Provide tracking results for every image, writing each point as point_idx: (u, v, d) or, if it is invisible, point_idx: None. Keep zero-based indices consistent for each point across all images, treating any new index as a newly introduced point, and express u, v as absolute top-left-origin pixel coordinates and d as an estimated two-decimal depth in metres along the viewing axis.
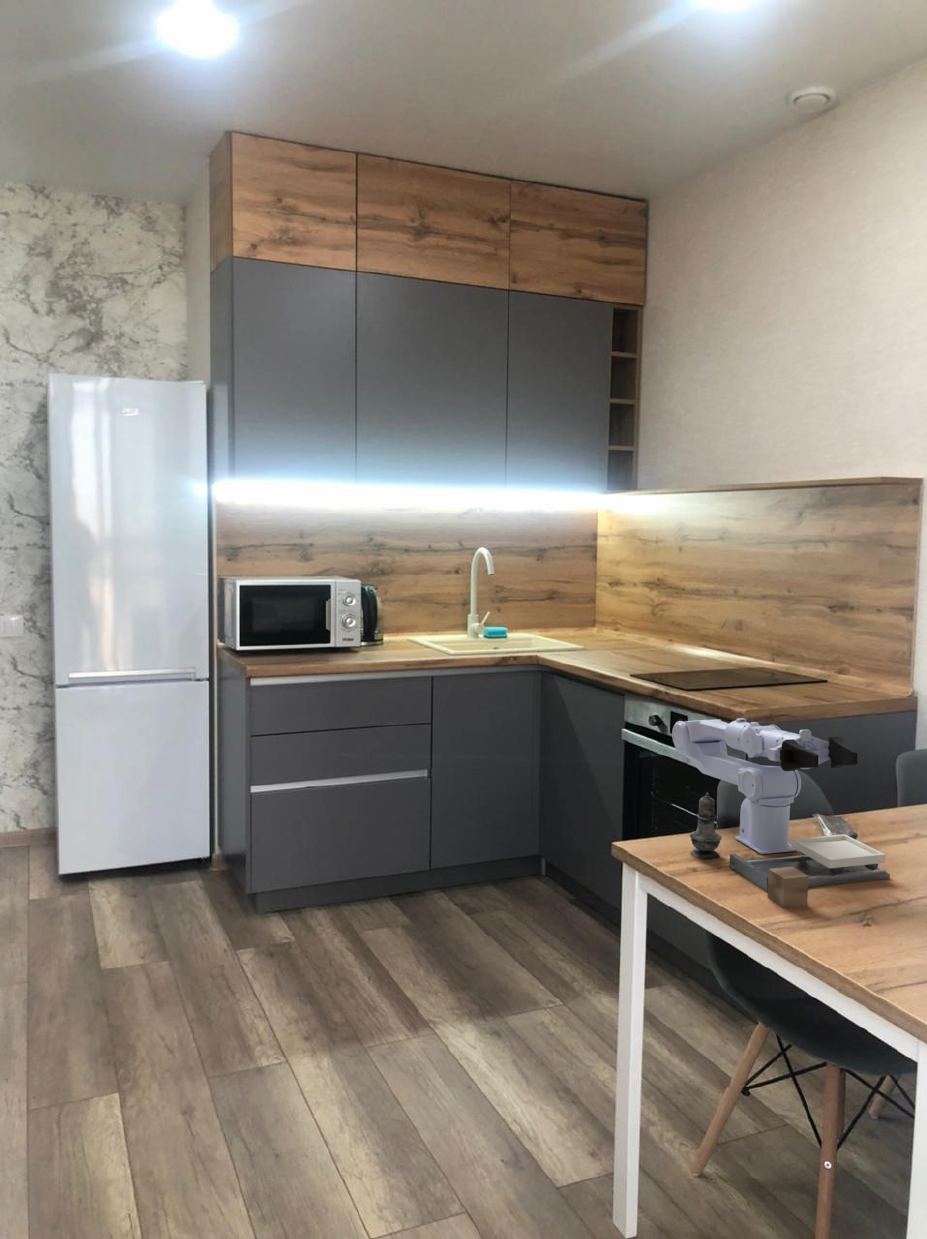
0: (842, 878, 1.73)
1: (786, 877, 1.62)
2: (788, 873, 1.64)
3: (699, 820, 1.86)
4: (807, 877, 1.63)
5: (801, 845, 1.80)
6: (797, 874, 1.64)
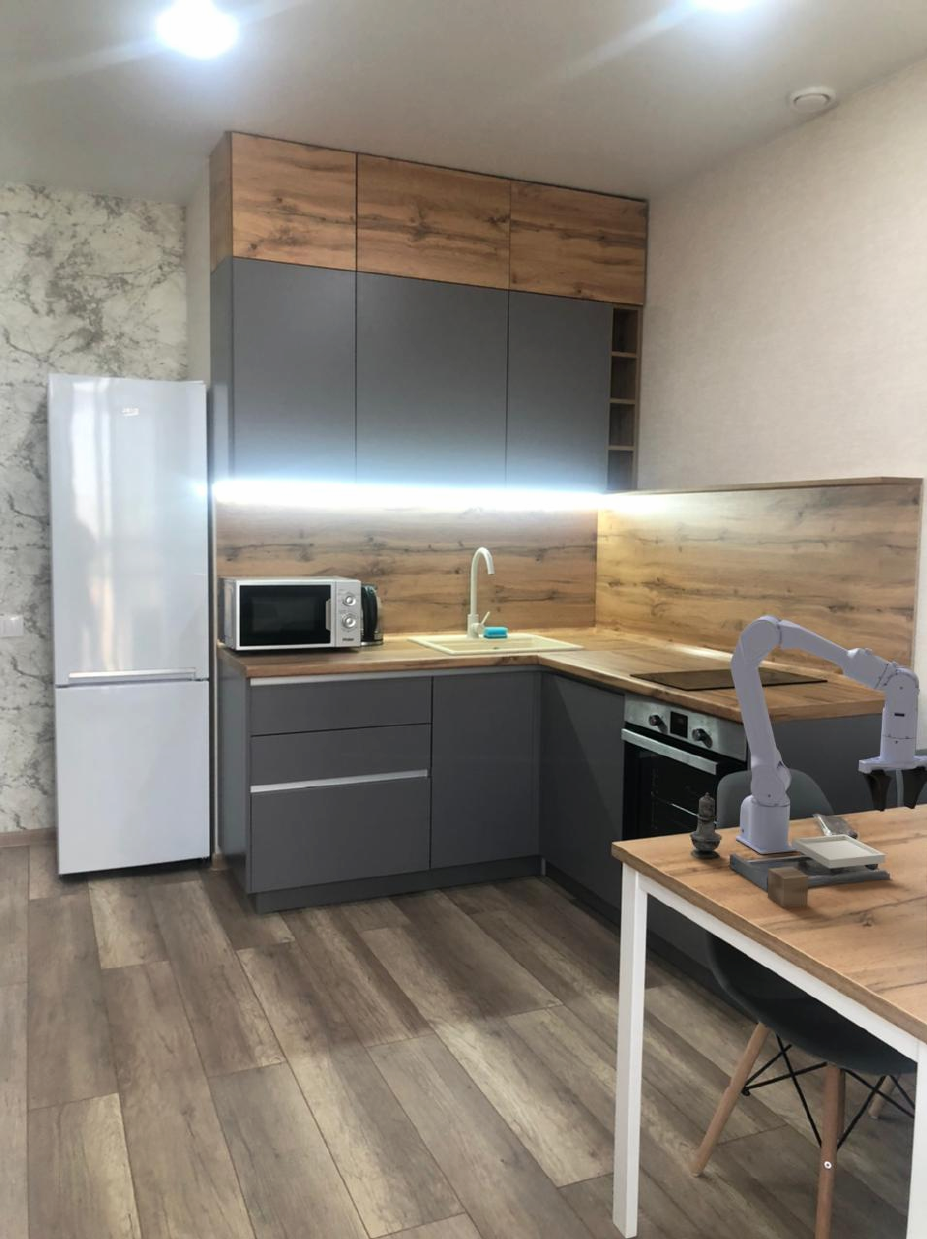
0: (842, 878, 1.73)
1: (786, 877, 1.62)
2: (788, 873, 1.64)
3: (699, 820, 1.86)
4: (807, 877, 1.63)
5: (801, 845, 1.80)
6: (797, 874, 1.64)
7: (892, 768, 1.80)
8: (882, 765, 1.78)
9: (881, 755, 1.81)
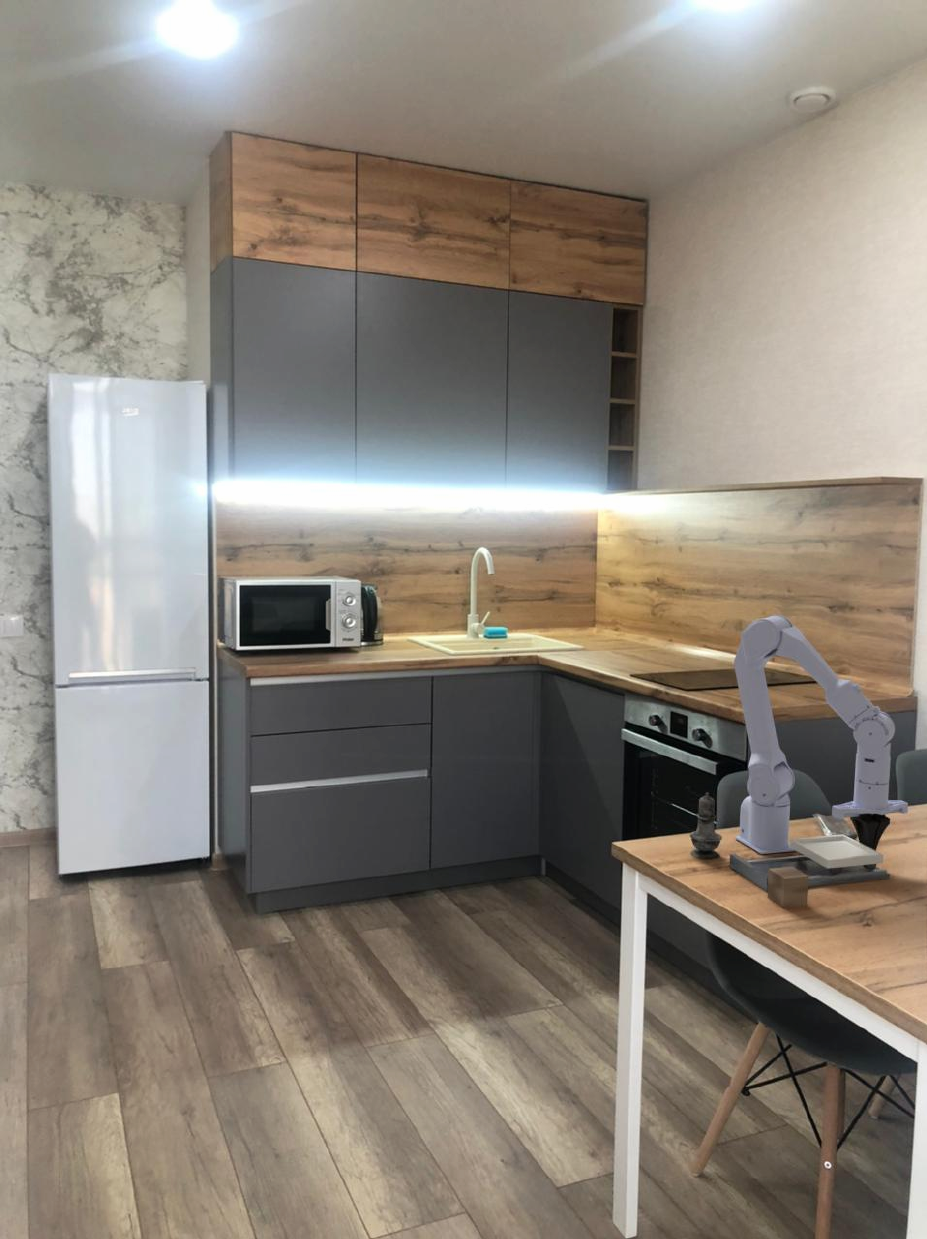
0: (842, 878, 1.73)
1: (787, 877, 1.62)
2: (788, 873, 1.64)
3: (699, 820, 1.86)
4: (807, 877, 1.63)
5: (799, 845, 1.80)
6: (797, 874, 1.64)
7: (865, 813, 1.80)
8: (855, 811, 1.77)
9: (854, 800, 1.80)
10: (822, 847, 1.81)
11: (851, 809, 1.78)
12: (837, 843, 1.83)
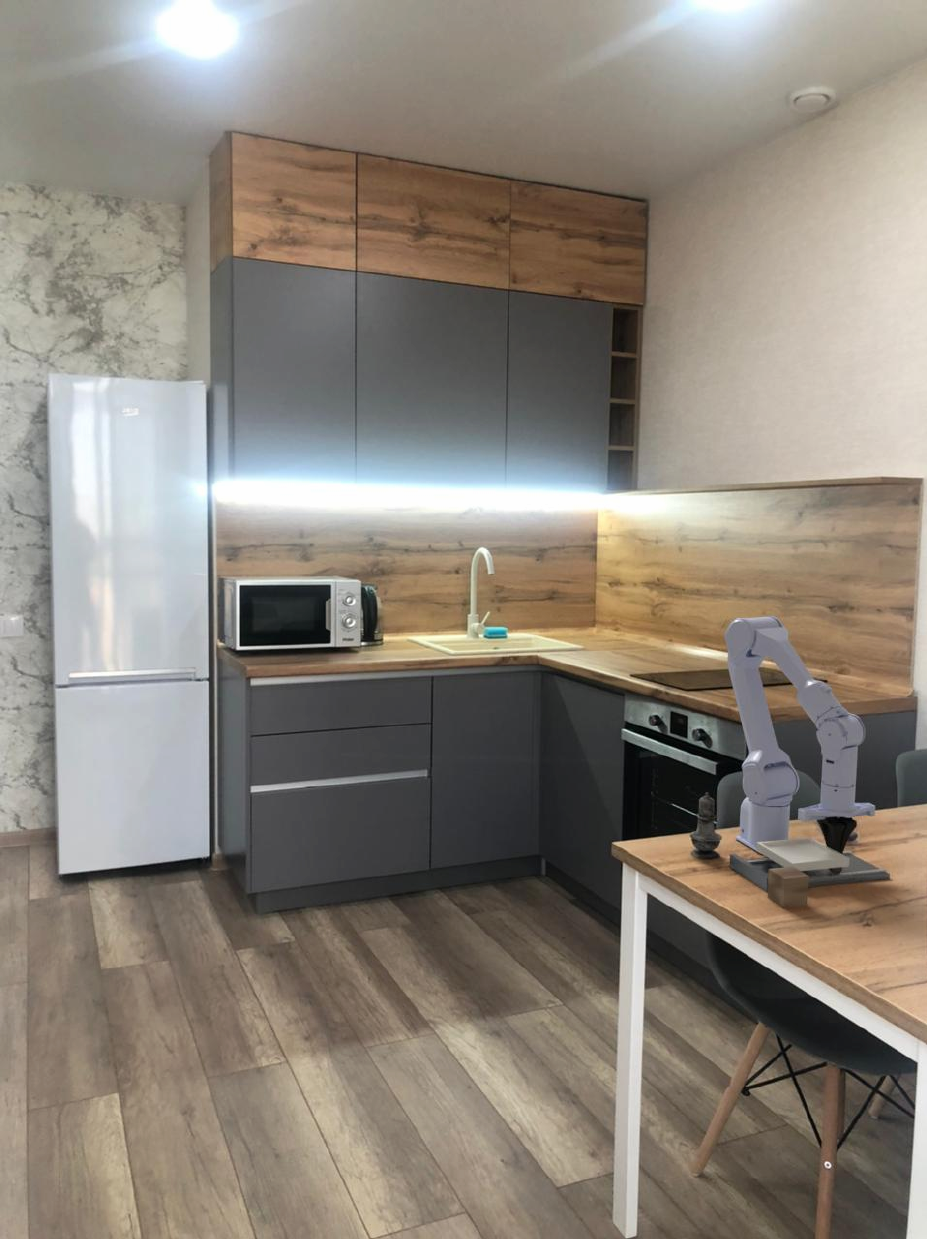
0: (842, 878, 1.73)
1: (787, 877, 1.62)
2: (788, 873, 1.64)
3: (699, 820, 1.86)
4: (807, 877, 1.63)
5: (765, 848, 1.78)
6: (797, 874, 1.64)
7: (832, 816, 1.78)
8: (821, 814, 1.76)
9: (821, 803, 1.78)
10: (788, 850, 1.79)
11: (817, 812, 1.76)
12: (804, 846, 1.81)
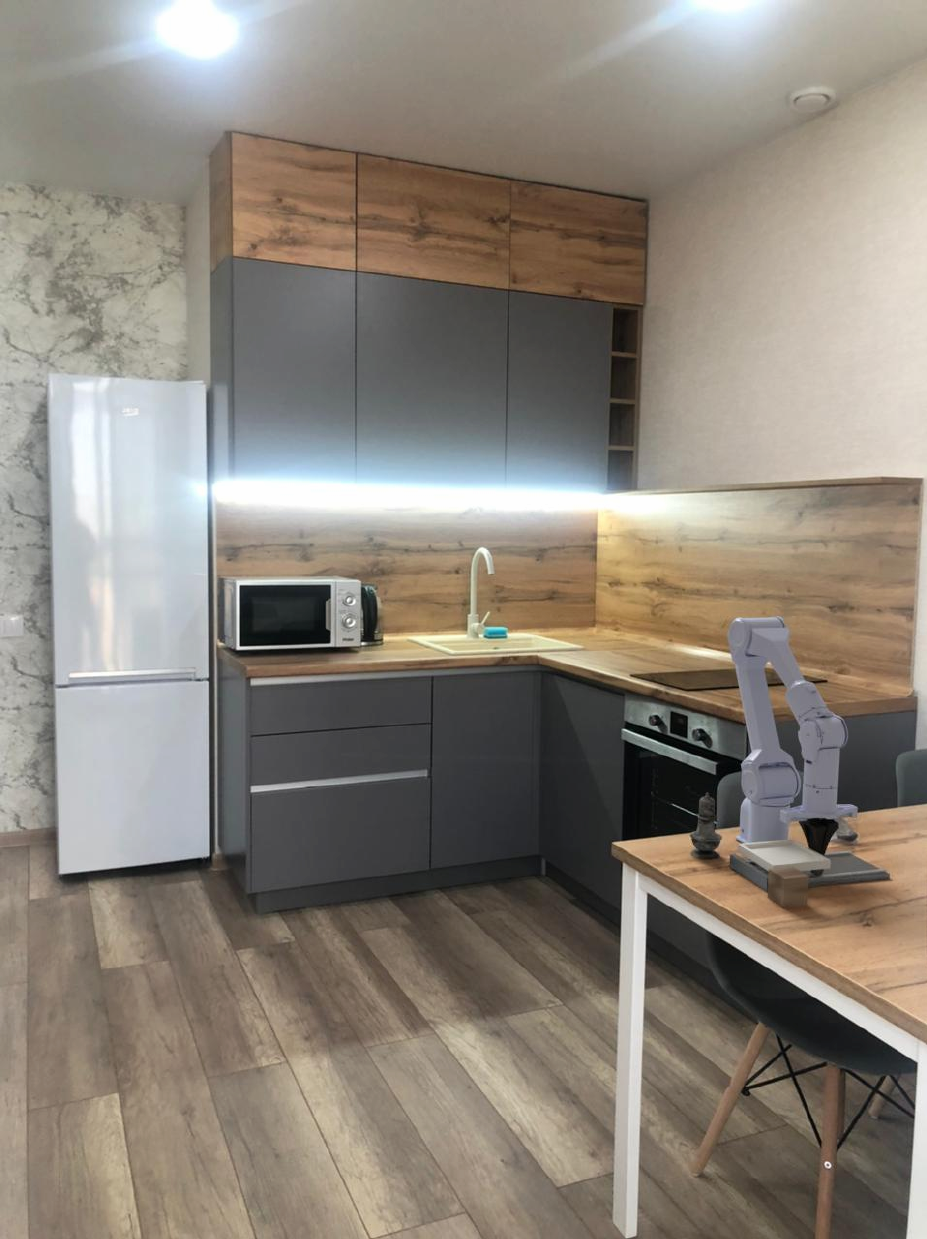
0: (842, 878, 1.73)
1: (786, 877, 1.62)
2: (788, 873, 1.64)
3: (699, 820, 1.86)
4: (807, 877, 1.63)
5: (747, 850, 1.77)
6: (797, 874, 1.64)
7: (814, 818, 1.77)
8: (803, 815, 1.75)
9: (803, 804, 1.77)
10: (770, 852, 1.78)
11: (798, 813, 1.75)
12: (786, 848, 1.80)
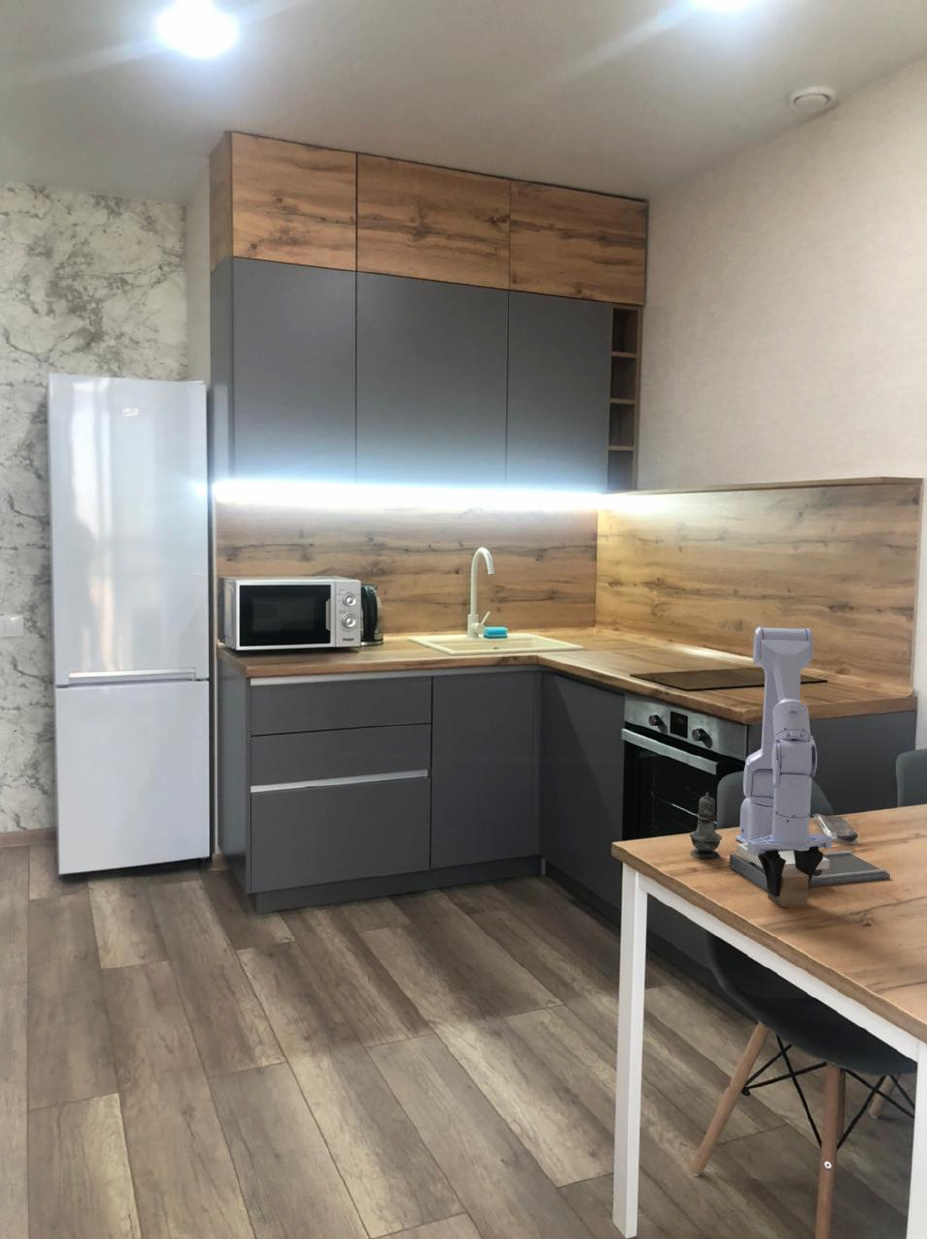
0: (842, 878, 1.73)
1: (787, 877, 1.62)
2: (788, 873, 1.64)
3: (699, 820, 1.86)
4: (807, 877, 1.63)
5: (745, 850, 1.77)
6: (797, 874, 1.64)
7: (784, 849, 1.64)
8: (772, 847, 1.61)
9: (772, 834, 1.64)
10: None
11: (767, 844, 1.61)
12: None
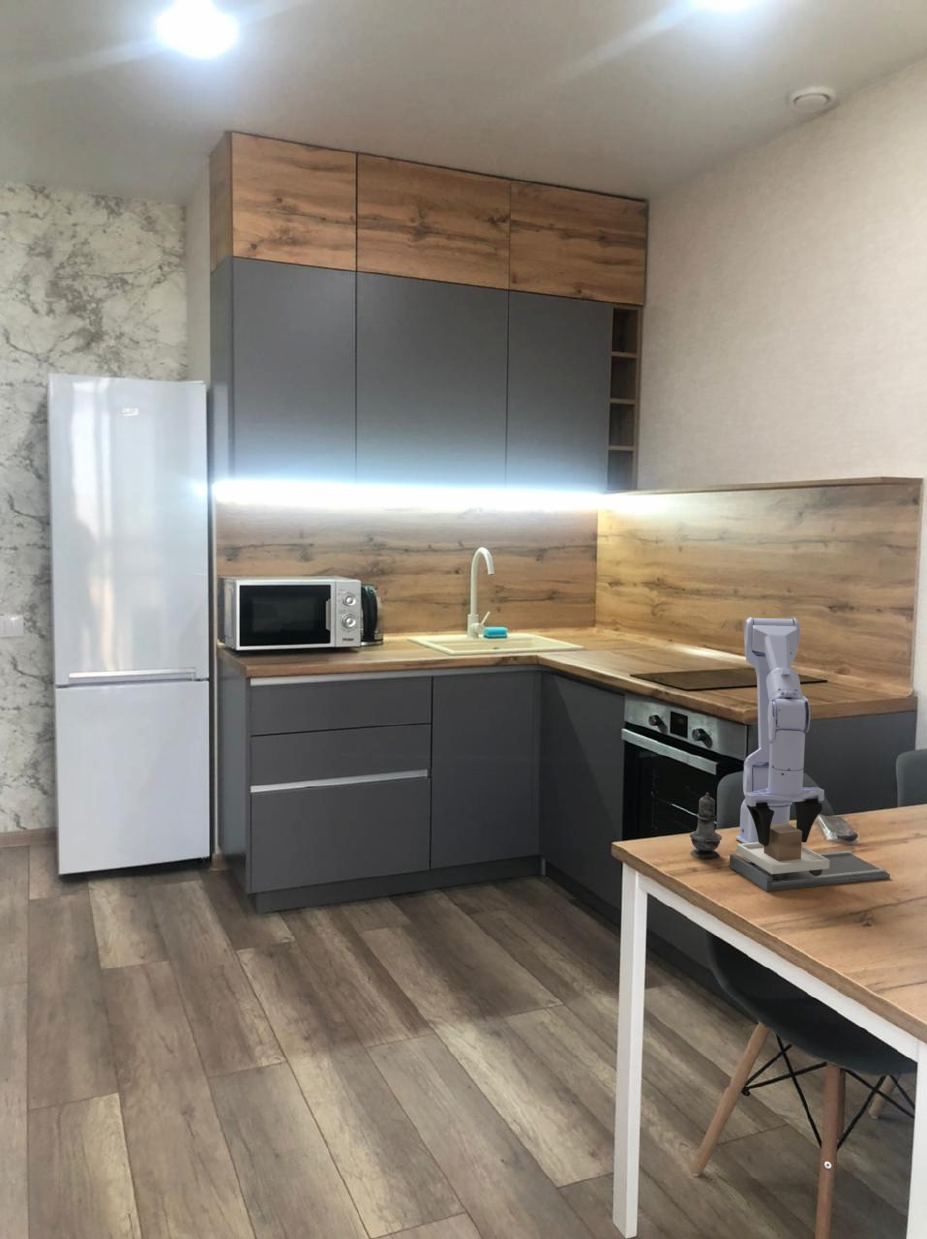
0: (842, 878, 1.73)
1: (781, 832, 1.73)
2: (783, 829, 1.75)
3: (699, 820, 1.86)
4: (801, 832, 1.74)
5: (745, 850, 1.77)
6: (791, 829, 1.75)
7: (780, 801, 1.75)
8: (768, 798, 1.72)
9: (768, 787, 1.75)
10: None
11: (764, 796, 1.72)
12: None
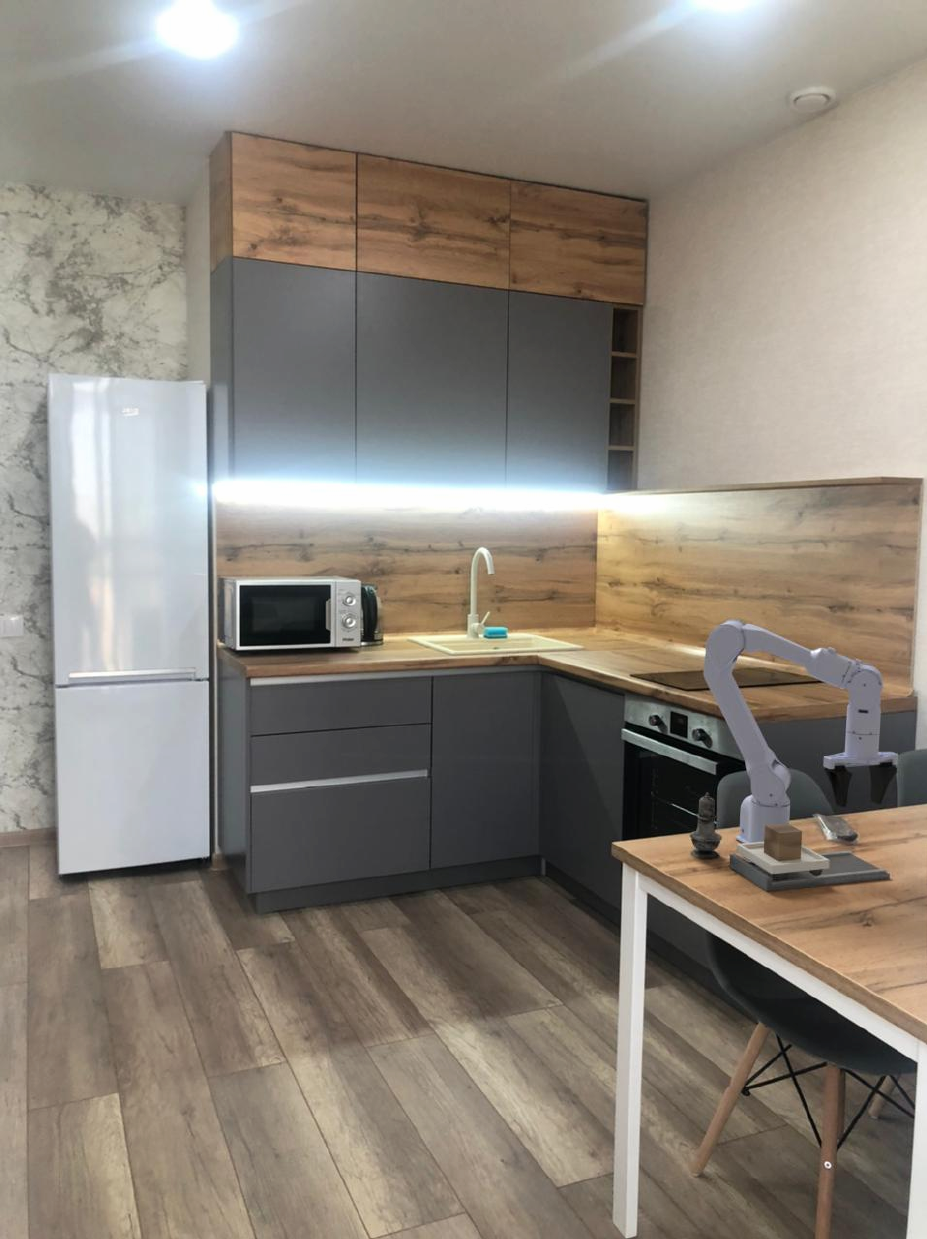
0: (842, 878, 1.73)
1: (781, 832, 1.73)
2: (783, 829, 1.75)
3: (699, 820, 1.86)
4: (801, 832, 1.74)
5: (745, 850, 1.77)
6: (791, 829, 1.75)
7: (856, 764, 1.83)
8: (846, 761, 1.81)
9: (845, 751, 1.83)
10: None
11: (842, 759, 1.81)
12: None
